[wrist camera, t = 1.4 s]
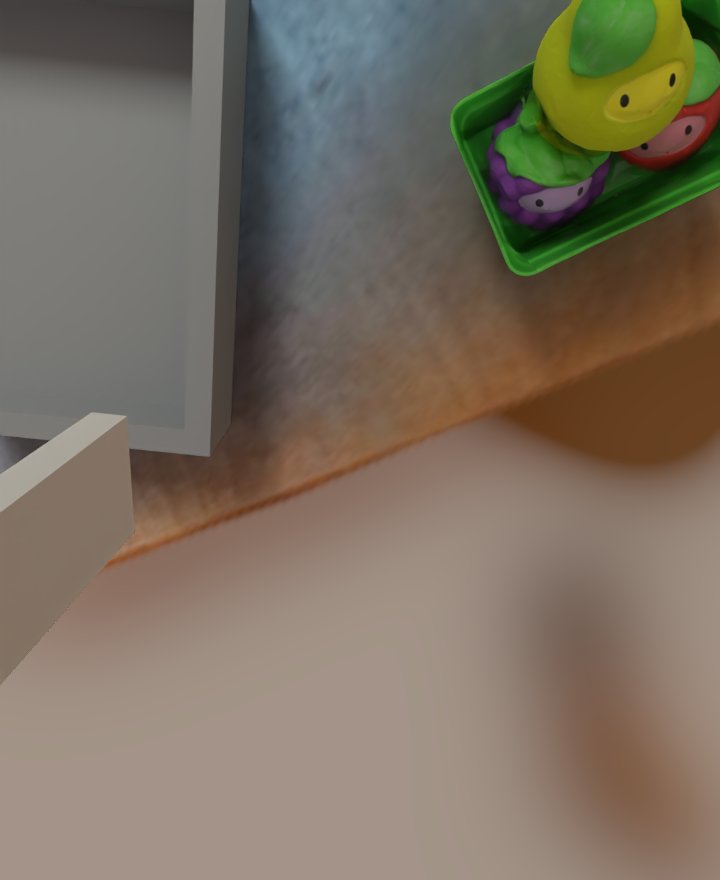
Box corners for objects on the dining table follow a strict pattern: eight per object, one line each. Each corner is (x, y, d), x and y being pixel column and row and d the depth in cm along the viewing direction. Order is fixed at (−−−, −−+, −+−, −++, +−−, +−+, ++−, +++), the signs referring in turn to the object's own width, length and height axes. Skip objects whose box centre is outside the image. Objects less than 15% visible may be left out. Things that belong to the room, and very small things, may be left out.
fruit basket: (495, 275, 34) (551, 305, 24) (421, 98, 32) (445, 42, 21) (720, 166, 32) (889, 144, 22) (659, -30, 30) (817, -163, 19)
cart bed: (-140, -47, 30) (-235, -94, 26) (249, -3, 31) (226, -42, 26) (-92, 391, 37) (-160, 418, 32) (230, 425, 37) (209, 456, 32)
